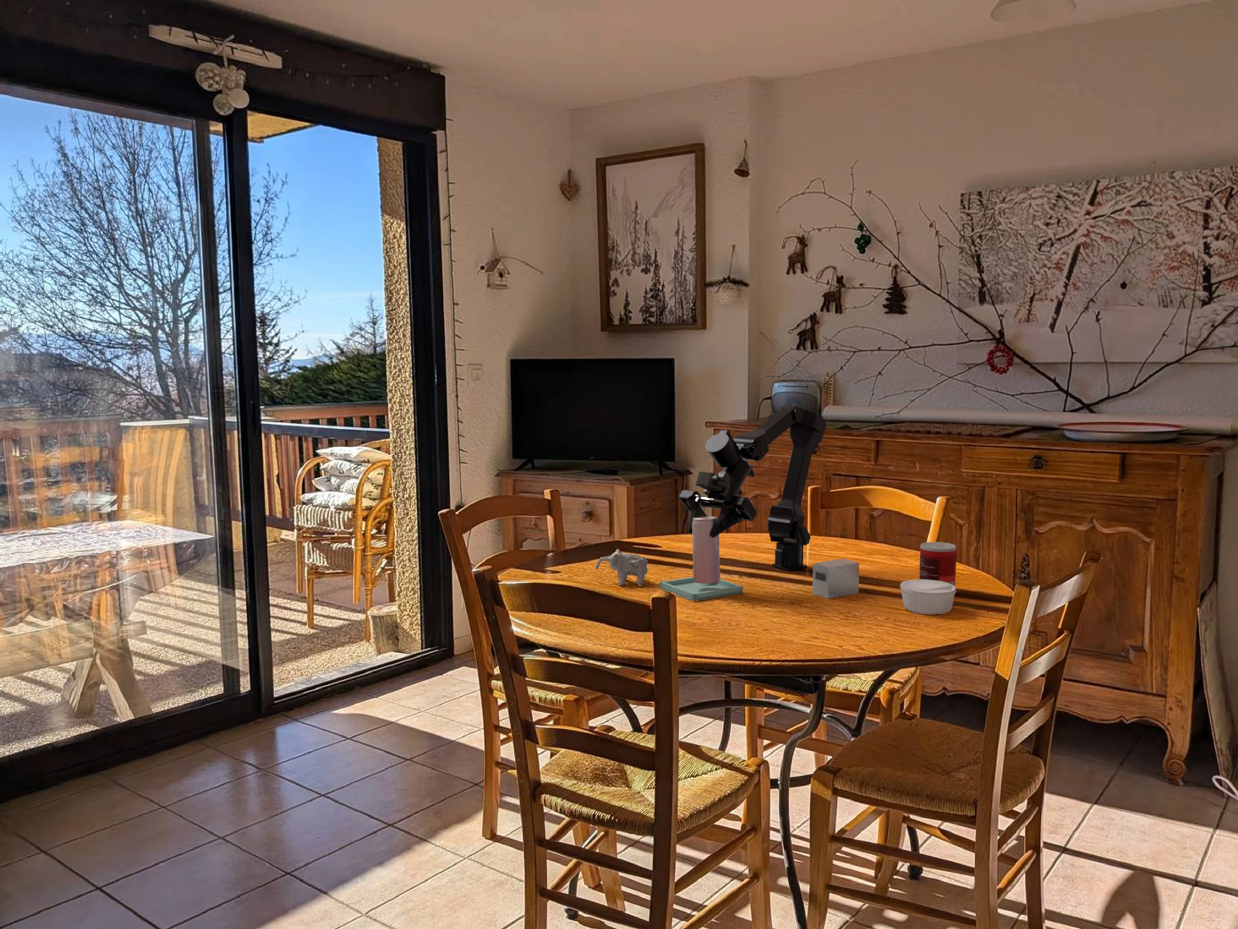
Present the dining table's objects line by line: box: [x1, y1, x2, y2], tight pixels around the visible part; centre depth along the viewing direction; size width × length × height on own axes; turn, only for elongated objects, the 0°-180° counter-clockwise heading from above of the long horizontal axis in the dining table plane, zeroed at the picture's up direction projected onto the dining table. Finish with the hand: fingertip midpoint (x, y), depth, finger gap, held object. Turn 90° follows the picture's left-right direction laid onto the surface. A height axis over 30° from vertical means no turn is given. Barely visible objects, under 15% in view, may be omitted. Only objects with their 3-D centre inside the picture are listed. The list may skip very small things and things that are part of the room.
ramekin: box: [899, 579, 957, 615], centre depth 207 cm, size 11×11×5 cm
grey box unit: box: [812, 558, 860, 600], centre depth 220 cm, size 10×5×7 cm, turn 121°
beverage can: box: [691, 516, 721, 586], centre depth 222 cm, size 6×6×15 cm
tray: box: [658, 576, 744, 602], centre depth 224 cm, size 14×14×2 cm
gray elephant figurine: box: [595, 548, 649, 586], centre depth 231 cm, size 9×12×8 cm
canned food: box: [919, 541, 957, 587], centre depth 220 cm, size 8×8×11 cm
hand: (700, 534), depth 221 cm, fingers closed on beverage can, 6 cm apart
